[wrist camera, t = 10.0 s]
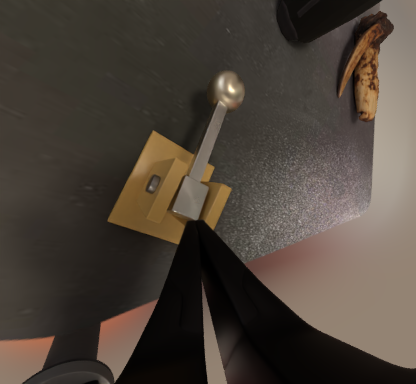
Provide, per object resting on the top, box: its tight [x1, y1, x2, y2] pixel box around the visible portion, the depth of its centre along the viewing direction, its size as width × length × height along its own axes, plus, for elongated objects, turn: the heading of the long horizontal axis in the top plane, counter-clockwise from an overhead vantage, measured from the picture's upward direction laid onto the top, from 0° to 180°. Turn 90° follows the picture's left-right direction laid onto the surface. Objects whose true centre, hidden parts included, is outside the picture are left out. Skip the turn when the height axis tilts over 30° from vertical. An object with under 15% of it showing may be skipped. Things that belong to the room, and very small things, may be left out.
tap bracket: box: [108, 131, 231, 244], centre depth 17 cm, size 10×8×9 cm
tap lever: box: [166, 70, 245, 221], centre depth 16 cm, size 14×4×4 cm, turn 153°
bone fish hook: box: [337, 11, 394, 122], centre depth 32 cm, size 9×5×18 cm
